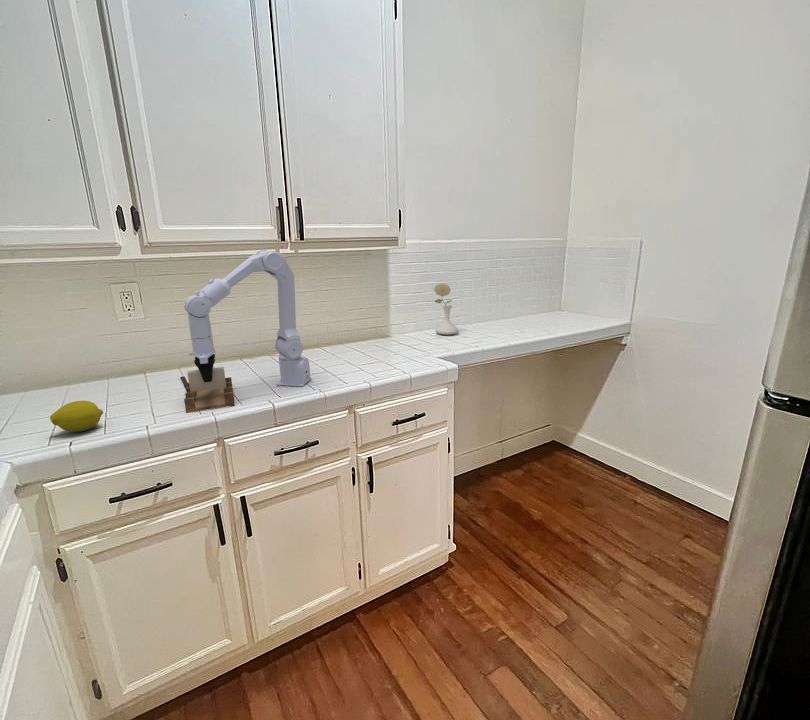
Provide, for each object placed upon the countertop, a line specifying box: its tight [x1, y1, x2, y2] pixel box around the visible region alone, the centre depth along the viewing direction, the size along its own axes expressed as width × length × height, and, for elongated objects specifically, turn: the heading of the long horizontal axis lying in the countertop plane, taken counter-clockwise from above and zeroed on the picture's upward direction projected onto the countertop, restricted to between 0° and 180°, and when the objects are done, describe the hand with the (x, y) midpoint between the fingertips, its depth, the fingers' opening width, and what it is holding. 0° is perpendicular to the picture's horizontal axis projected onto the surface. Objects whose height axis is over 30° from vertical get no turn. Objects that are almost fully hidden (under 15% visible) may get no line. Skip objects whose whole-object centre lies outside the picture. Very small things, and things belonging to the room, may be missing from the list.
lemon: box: [49, 400, 104, 433], centre depth 113 cm, size 11×8×8 cm
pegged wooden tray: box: [183, 376, 236, 414], centre depth 133 cm, size 13×16×4 cm
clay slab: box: [186, 366, 226, 392], centre depth 132 cm, size 10×2×6 cm, turn 113°
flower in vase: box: [433, 282, 459, 336], centre depth 213 cm, size 13×11×25 cm
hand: (208, 380), depth 132 cm, fingers closed on clay slab, 2 cm apart
